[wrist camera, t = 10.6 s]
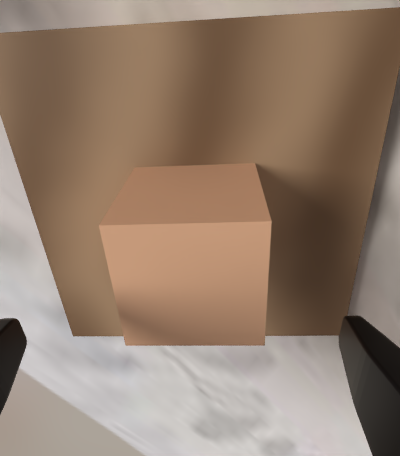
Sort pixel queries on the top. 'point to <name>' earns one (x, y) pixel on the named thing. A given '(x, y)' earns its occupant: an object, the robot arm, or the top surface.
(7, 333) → the robot arm
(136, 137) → the walnut board
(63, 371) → the top surface
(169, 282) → the terracotta cube
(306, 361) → the top surface
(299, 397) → the top surface
